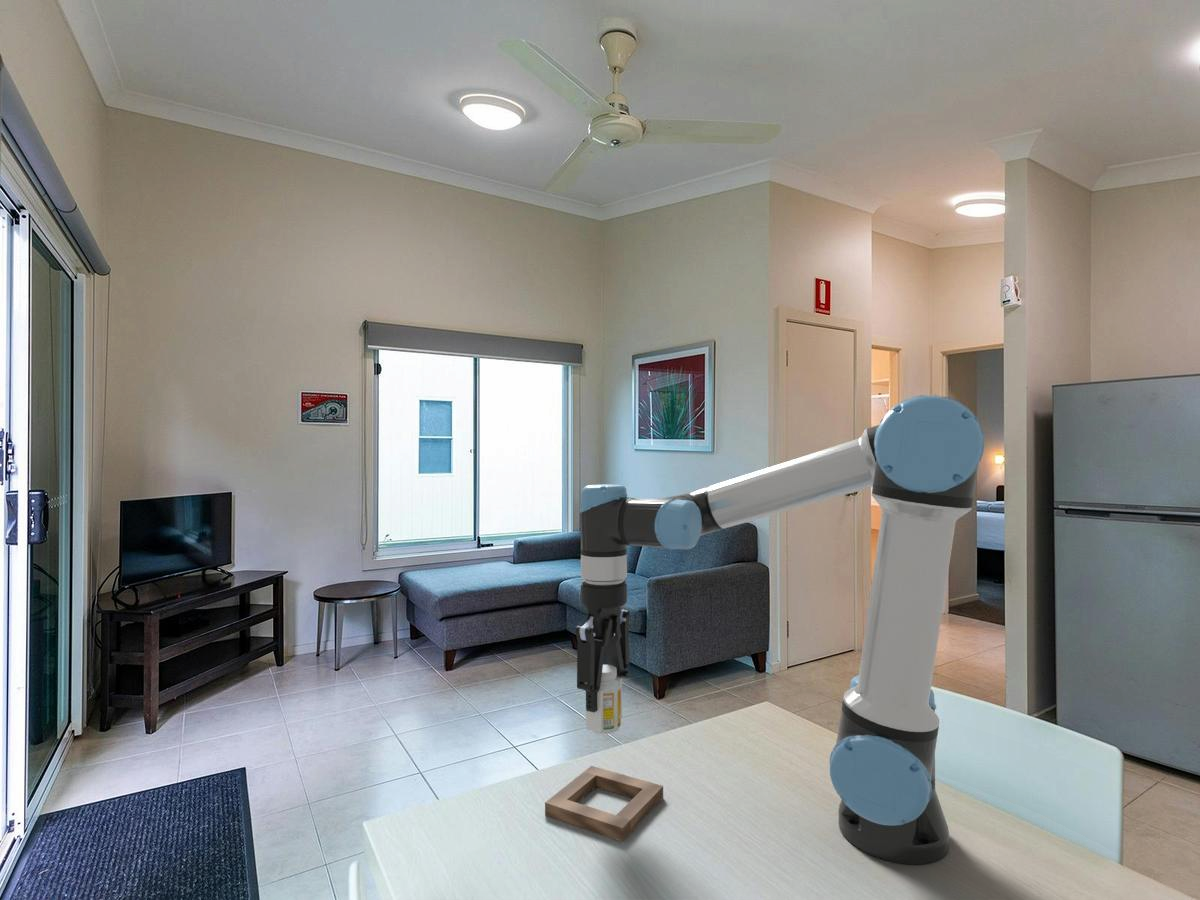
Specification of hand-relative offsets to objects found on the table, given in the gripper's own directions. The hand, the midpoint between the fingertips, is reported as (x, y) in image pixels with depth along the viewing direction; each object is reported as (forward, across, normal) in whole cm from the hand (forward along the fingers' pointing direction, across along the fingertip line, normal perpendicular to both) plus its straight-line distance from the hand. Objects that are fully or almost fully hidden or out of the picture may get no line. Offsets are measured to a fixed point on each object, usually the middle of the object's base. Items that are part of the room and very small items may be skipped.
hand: (604, 722), depth 107 cm
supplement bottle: (+1, 0, 0) cm, 1 cm away
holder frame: (+14, 0, 0) cm, 14 cm away
